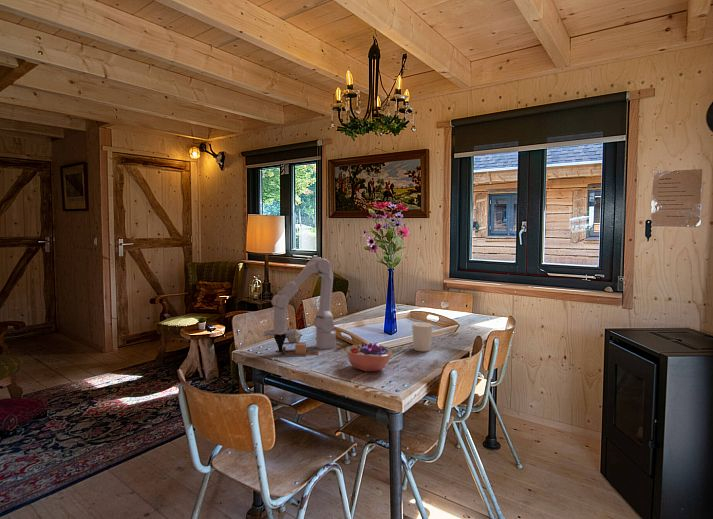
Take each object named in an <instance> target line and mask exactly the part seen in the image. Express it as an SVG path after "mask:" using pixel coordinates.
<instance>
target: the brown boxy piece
mask: <svg viewBox="0 0 713 519" xmlns="http://www.w3.org/2000/svg"><path fill="white" fill-rule="evenodd" d="M286 350H287V349H286V346H283V348H282V352H281V355H295V352H286ZM319 353H320V352H319V351H318V350H317V351H307V352H306V356H305V357H307V356H319Z"/></svg>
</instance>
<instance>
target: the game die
mask: <svg viewBox="0 0 713 519" xmlns="http://www.w3.org/2000/svg"><path fill="white" fill-rule="evenodd" d="M287 330H297V335H287V336H286V338H285V339H287V341H288V343H289V344H293V343H295V344H296V343H300V342H301V341H300V340H301V339H302V338H301V337H302V334H301V332H300V330H299V327H297V328H293V329H290V328H288V327H287Z"/></svg>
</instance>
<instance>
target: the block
mask: <svg viewBox="0 0 713 519" xmlns="http://www.w3.org/2000/svg"><path fill="white" fill-rule="evenodd" d="M294 347H295V349H294V350H295V355H297V354H306V350H307V342H295V345H294Z"/></svg>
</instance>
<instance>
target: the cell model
mask: <svg viewBox="0 0 713 519" xmlns="http://www.w3.org/2000/svg"><path fill="white" fill-rule="evenodd" d="M345 350H346V353H347V359H348V362H349V363H350V365H351V366H352V367H353V368H355V369H357V370H360V371H364V372H378V371H380V370H382V369H384V368H385V367H386V365H387V364H388V363H389V362H390V361H389V360H390V359H391V356H392V353H393V351H392V349H391V348H390V347H388V346H384V345H381V344H379V343H377V342H375V343H371V342H370V343H369V344H368V343H364V342H361V344H352V345H350V346H347V347H345Z"/></svg>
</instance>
